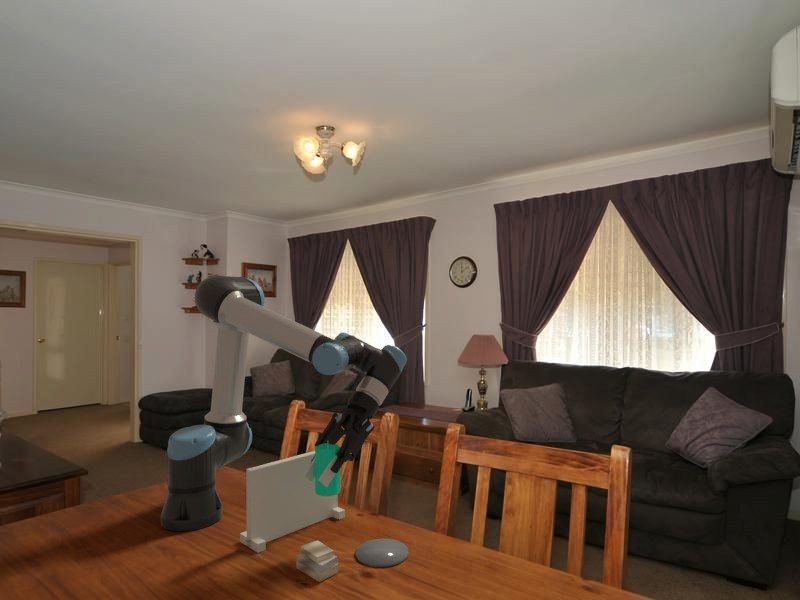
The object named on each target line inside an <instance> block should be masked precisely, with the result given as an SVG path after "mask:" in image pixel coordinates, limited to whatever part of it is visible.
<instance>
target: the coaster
mask: <svg viewBox="0 0 800 600" xmlns="http://www.w3.org/2000/svg"><path fill="white" fill-rule="evenodd" d="M408 556H409V548H408V546H407V545H406V544H405V543H403V542H401V541H399V540H396V539H392V538H374V539H369V540H367V541H364V542H362V543H361V544H359V545H358V546H357V547H356V548H355V559H356V560H357V561H358V562H359V563H361V564H362V565H365V566H367V567H373V568H374V567H375V568H389V567H394V566H397V565H400V564H402V563H403V562H405V561H406V560H407V558H408Z"/></svg>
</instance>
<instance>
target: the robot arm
mask: <svg viewBox="0 0 800 600" xmlns="http://www.w3.org/2000/svg"><path fill="white" fill-rule="evenodd" d="M194 303H195V307H196V308H197V310H198V311H199V312H200V313H201V314H202V315H203V316H205V317H206V318H208V319H210V320H212V323H213V324H214V325H215V326H216V327H217V337H216V348H215V349H216V350H215V360H214V361H215V362H214V371H213V372H214V373H213V381H212V382H213V383H212V393H211V402H210V403H211V405H210V411H209V412H208V413H207V414H205V415H204V420H203V424H194V425H191V426H185V427H182V428H180V429H177V430H176V431H175V432H173V433H172V434H171V435H170V436H169V439H168V441H167V442H168V445H167V448H166V453H167V455H166V456H167V495H166V498H165V502H164V505H163V508H162V511H161V513H160V526H161V527H162V528H163V529H164V530H168V531H172V532H173V531H174V532H187V531H194V530H198V529H203V528H206V527H209V526H211V525H213V524H215V523H218V521H219V520H221V518H222V517H223V504H222V500H221V498H220V496H219V493H218V490H217V488H216V487H217V486H216V470H217V469H220V468H222V467H224V466H225V465H227V464H230V463H233V462H235V461H237V460H238V459H239V458H241V457H242V456H243V455H245V454H246V453H247V452H248V450H249V448H250V446H251V445H252V441H253V432H252V428H251V427H249V424H248V422H247V415H246V414H245V413H244V412H243V402H244V391H245V378H246V370H247V369H246V368H247V360H248V359H247V358H248V357H247V356H248V346H249V335H253V336H255V337H257V338H259V339H261V340H262V341H264V342H267V343H269V344H271V345H273V346H275V347H277V348H279V349H282V350H284V351H285V352H287V353H290V354H292V355H294V356H296V357H298V358H300V359H302V360H304V361H306V362H309V363H310V364H312V365H313V367H314V368H315V369H316V371H317V372H318V373H319V374H322V375H325V376H333V375H337V374H341V372H343V371H344V372H345V371H346V370H347V371H348V370H350V369H354V370H355V371H358V372H360V373H362V374H363V375H364V376H363V378H362V379H361V381H360V382H359V384H358V385H357V387H356V388H355V391H354V392H353V393H352V395H351V396H350V397H349V399H348V401H347V403H346V404H347V408H346V409H345V410H344V411H343V412H342V413H340V414H338V413H337V412H334V413H332V415H331V419H330V421H329V422H328V424H327V425H326V427H325V428H324V430H323V431H322V432H321V434H320V436H319V437H318V439H317V440H316V442H315V443H314V447H315V448H316V446H318V445H321V444H325V443H326V444H332V445H334V444H338V442H339V441H340V439H342V437H344V439H343V441H342V443H341V445H340V450H339V452H337V453H336V455H337V456H338V457H337V456H335V457H334V458H333V460H332V461H331V462H330V463H329V464H328V466H327V467H326V469H325V470H324V472H323V474H322V475H321V477H320V478H319V481H320V482H321V483H322V484H323V485H324V486H325V487H328V485H329V483H330V482H331V480H332V478H333V477H334V475H335V474H336V473H337V472H338V471H339V469H340V468H342V466H343V465H344V463H346V462H348V461H349V462H353V461H354V460H355V459H356V457H357V455H358V454H359V452H360V450H361V448H362V446H363V445H364V443H365V442H366V440H367V438H368V436H369V435H371V433H372V432H373V431H374V430H375V427H376V426H375V425H374V424H373V423H372V422H371V421H370V420H373V418H374V417H375V416H376V414H377V412H378V411H379V409H380V406H381V405H383V402H384V400H385V399H386V397H387V396H388V394H389V392H390V391H391V389H392V388H393V386H394V385H395V383H396V382H397V380H398V379H399V377H400V375H401V374H402V371H403V370H404V367H405V366H406V364H407V360H408V359H407V355H406V354H405V353H404V351H403V350H402V349H400V348H399V347H397V346H395V345H391V344H386V345H384V346H383V347H382V348H378V347H376V346H373V345H371V344H370V343H367V342H365V341H363V340H361V339H360V338H358V337H356V336H355V335H353V334H352V335H351V334H349V333H347V332H340V333H338V335H336V336H335V337H334V339H333V338H332V337H329V336H326V335H325V334H323V333H320V332H318V331H316V330H314V329H313V328H310V327H308V326H305V325H304V324H301V323H299V322H297V321H294V319H293V320H292V319H290V318H288V317H286V316H284V315H281V314H280V313H279V312H278V313H277V312H276V311H273V310H272V309H269V308H267V307H265V306H264V305H265V294H264V291H263V289H262V287H261V286H260V285H259V283H257V281H255V280H253V279H251V278H247V277H243V276H229V275H228V276H227V275H212V276H208V277H206V278H204V279H203V280H202V281H201V282H200V283H199V284H198V285H197V287H196V289H195V293H194ZM344 435H345V436H344ZM303 475H305V476H306V477H307V478H308V479H309V480H310V481H313V479H314V478H315V456H314V457H313V459H312V460H311V464H310V465H309V467H308V468H307V470H306V471H305V473H304V474H303Z"/></svg>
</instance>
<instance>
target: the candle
mask: <svg viewBox="0 0 800 600" xmlns="http://www.w3.org/2000/svg"><path fill="white" fill-rule="evenodd" d="M340 448H341V445H339V444H338V443H336V444H334V445H332V444H326V443H325V444H321V445H318V446H316V447H315V449H314V451H315V493H316V494H317V495H320V496H333V495H337V494H340V493H341V490H342V489H341V486H342V485H341V482H342V481H341V468H342V467H341V468H340V469H339V471H338V472H337V473H336V474H335V475H334V477H333V478H332V480H331V482H330V483H329V485H328V487H325V486H324V485H323V484H322V483H321V482H320V481H319V478H320V477H321V475H322V474H323V472H324V470H325V469H326V467H327V466H328V464H329V463H330V462H331V461H332V460H333V458H334V457H335V456H337V455H336V453H337V452H339V450H340ZM337 457H338V456H337Z"/></svg>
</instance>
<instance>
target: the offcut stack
mask: <svg viewBox="0 0 800 600" xmlns="http://www.w3.org/2000/svg"><path fill="white" fill-rule="evenodd" d="M334 552H335V551H334V549H332V548H330V547H329V546H327V545H325V544H324V543H322V542H321V541H319V540H313V541H311V542H308V543H306V544H303V545H301V546H300V553H299V554H297V559H296V561H295V562H296V565H295V566H296V570H297V569H298V570H299V571H300V572H302V573H304V574H305V575H307V576H308V577H310V578H311V579H313V580H315V581H317V582H319V583H321V582H323V581H324V580H327V579H328V578H330V577H332V576H335V575H336V574H338V573H339V563H338V556H337V555H335V553H334Z"/></svg>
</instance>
